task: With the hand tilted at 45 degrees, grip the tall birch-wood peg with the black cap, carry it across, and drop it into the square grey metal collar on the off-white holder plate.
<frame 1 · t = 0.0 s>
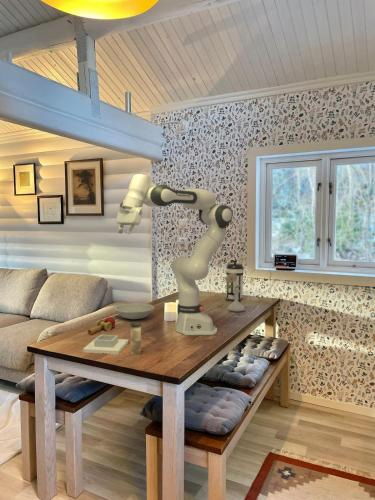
hand: (123, 233, 176), 52 cm above the table, tool tilted 20°, fingers open, 8 cm apart
coffee press: (234, 300, 279), on the table
peg: (135, 352, 165), on the table
soup bowl: (134, 318, 224), on the table
flower in vase: (234, 311, 246), on the table
holder: (106, 347, 171), on the table
kendama: (102, 331, 197), on the table
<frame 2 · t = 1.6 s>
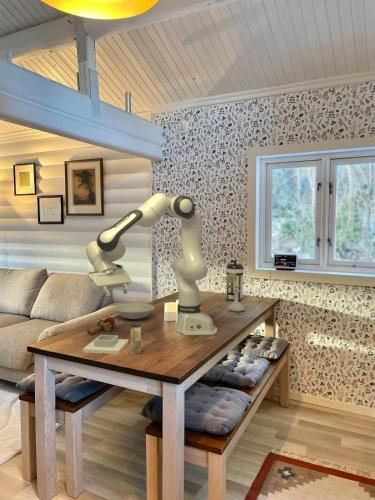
hand: (118, 294, 171), 24 cm above the table, tool tilted 45°, fingers open, 8 cm apart
nothing on the table moved.
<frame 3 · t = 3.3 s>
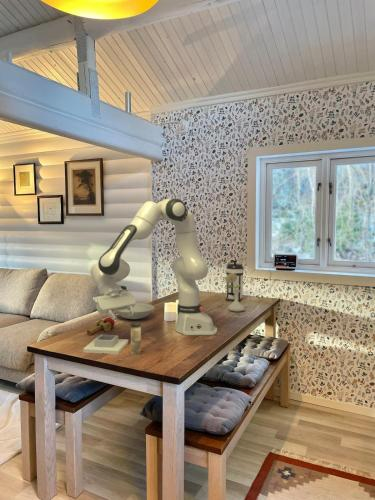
hand: (123, 317, 169), 14 cm above the table, tool tilted 45°, fingers open, 8 cm apart
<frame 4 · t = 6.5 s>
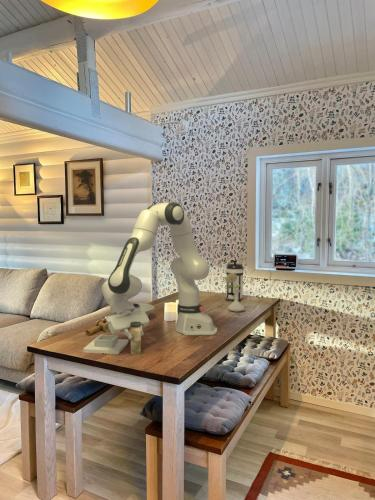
hand: (136, 336, 164), 7 cm above the table, tool tilted 45°, fingers closed on peg, 4 cm apart
peg: (135, 352, 165), on the table, touching gripper
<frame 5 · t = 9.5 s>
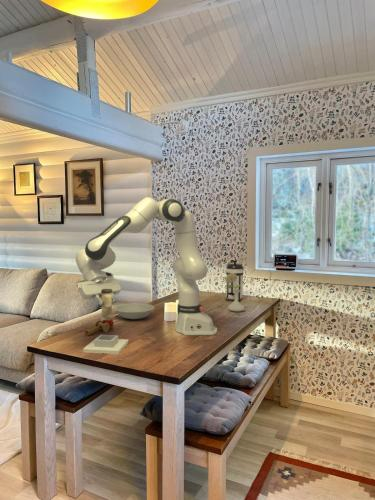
hand: (107, 303, 169), 21 cm above the table, tool tilted 45°, fingers closed on peg, 4 cm apart
peg: (106, 318, 170), point 13 cm above the table, touching gripper
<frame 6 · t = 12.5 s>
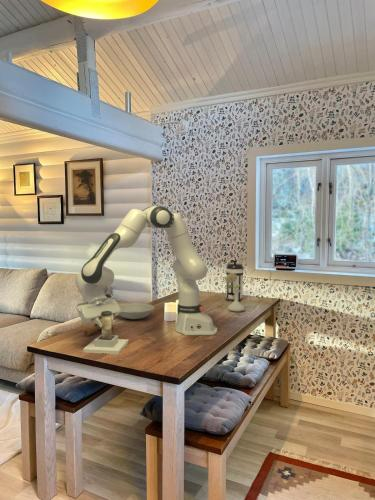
hand: (107, 325, 170), 10 cm above the table, tool tilted 45°, fingers closed on peg, 4 cm apart
peg: (106, 341, 171), point 3 cm above the table, touching gripper
when the fingers open (10 cm above the table, at t = 12.7 s): peg drops 1 cm, resting on holder.
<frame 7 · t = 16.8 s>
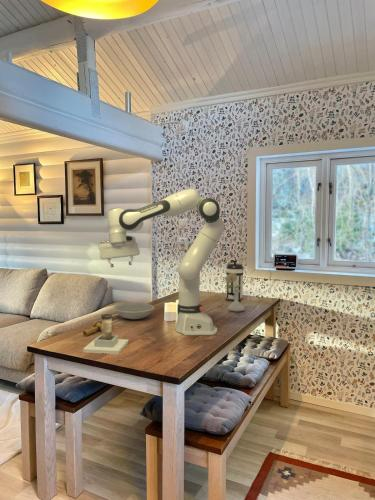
hand: (121, 266, 193), 35 cm above the table, tool pointing down, fingers open, 8 cm apart
peg: (106, 344, 171), point 1 cm above the table, touching holder
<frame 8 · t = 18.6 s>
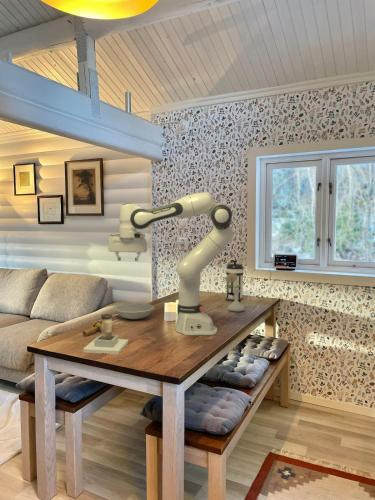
hand: (127, 260, 196), 37 cm above the table, tool pointing down, fingers open, 8 cm apart
at the end: peg 0.1 cm off-centre on the holder, point 1.5 cm above the holder's base; peg tilted 0°; the gripper is holding nothing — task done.
